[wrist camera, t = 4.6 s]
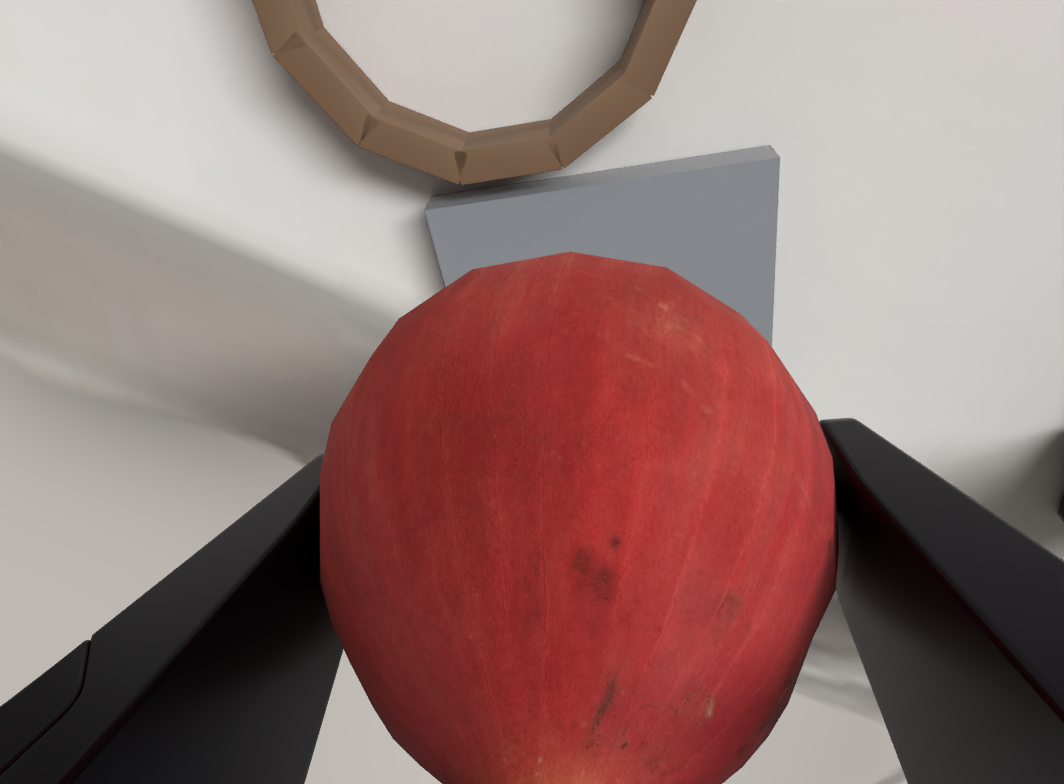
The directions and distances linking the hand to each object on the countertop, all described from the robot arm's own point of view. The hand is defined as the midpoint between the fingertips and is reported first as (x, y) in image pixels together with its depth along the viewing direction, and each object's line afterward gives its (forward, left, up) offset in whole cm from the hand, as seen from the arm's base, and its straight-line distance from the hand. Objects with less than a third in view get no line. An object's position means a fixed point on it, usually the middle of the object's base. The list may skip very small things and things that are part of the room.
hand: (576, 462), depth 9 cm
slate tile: (0, +4, -11) cm, 12 cm away
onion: (0, 0, -3) cm, 3 cm away
